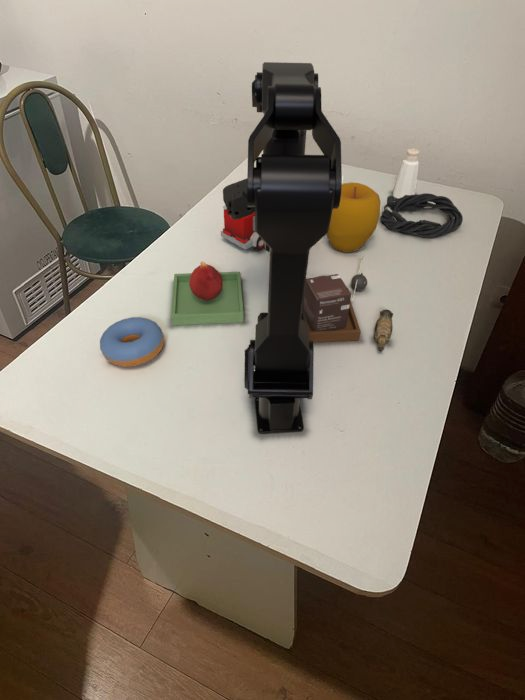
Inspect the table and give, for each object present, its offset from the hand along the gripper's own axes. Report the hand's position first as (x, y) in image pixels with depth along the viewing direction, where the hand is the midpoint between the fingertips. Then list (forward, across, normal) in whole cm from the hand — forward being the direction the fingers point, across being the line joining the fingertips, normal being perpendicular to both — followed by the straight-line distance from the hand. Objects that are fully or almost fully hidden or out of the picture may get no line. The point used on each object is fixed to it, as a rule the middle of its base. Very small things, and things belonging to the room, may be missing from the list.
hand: (279, 258), depth 82 cm
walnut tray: (+12, +2, +8) cm, 15 cm away
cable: (+12, -30, +35) cm, 48 cm away
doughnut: (+12, +7, -24) cm, 28 cm away
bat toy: (+12, -7, +16) cm, 21 cm away
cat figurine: (+12, +7, +17) cm, 22 cm away
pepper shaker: (+12, -43, +35) cm, 57 cm away
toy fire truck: (+12, -28, 0) cm, 31 cm away
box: (+12, +2, +8) cm, 14 cm away
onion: (+12, -5, -12) cm, 17 cm away
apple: (+12, -22, +17) cm, 30 cm away
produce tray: (+12, -5, -12) cm, 18 cm away
